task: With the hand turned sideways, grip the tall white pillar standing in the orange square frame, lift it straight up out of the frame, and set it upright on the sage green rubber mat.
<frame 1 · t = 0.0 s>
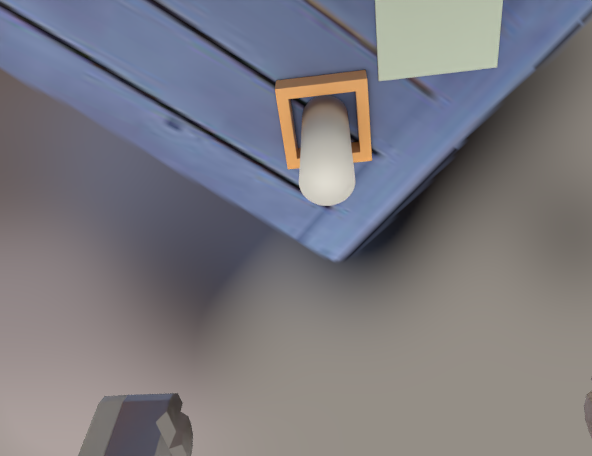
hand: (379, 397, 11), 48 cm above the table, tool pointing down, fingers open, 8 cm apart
tall white pillar: (325, 145, 53), in the orange square frame
orange square frame: (325, 116, 58), on the table
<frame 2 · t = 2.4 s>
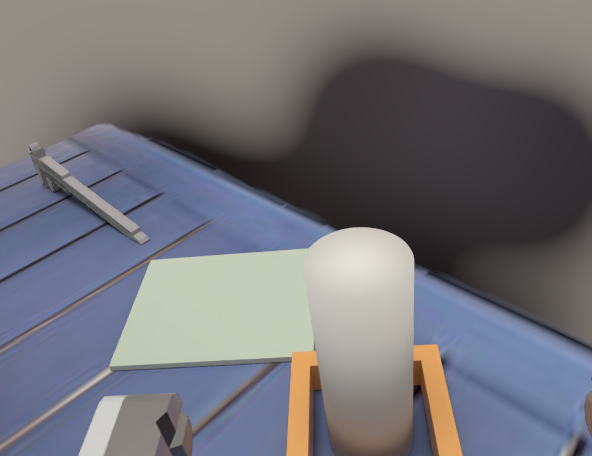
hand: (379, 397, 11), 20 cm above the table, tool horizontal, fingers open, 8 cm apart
tall white pillar: (365, 361, 28), in the orange square frame
caliper: (93, 214, 58), on the table
orange square frame: (370, 435, 32), on the table
mat: (222, 306, 43), on the table
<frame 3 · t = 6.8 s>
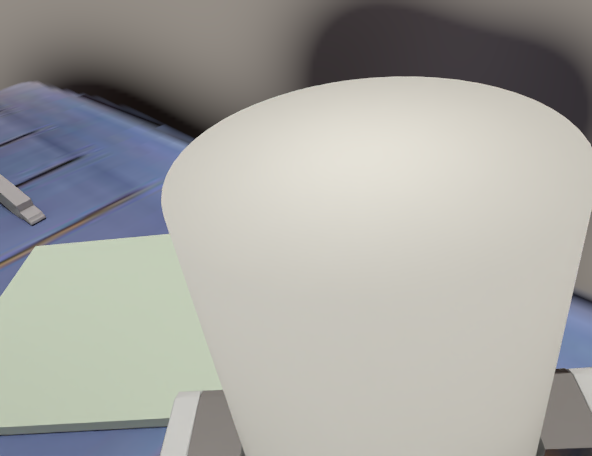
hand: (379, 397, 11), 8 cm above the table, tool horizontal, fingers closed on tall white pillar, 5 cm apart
mat: (133, 318, 25), on the table
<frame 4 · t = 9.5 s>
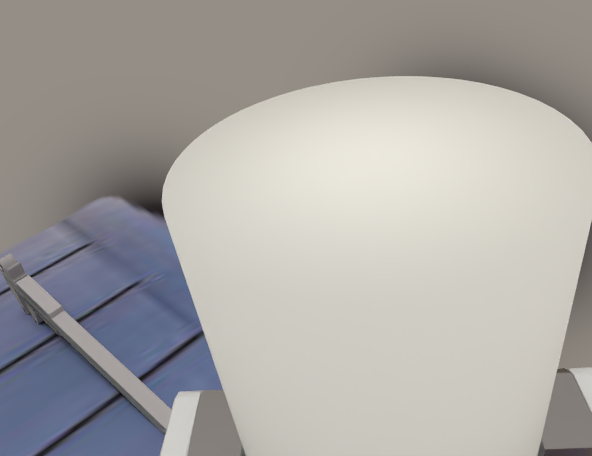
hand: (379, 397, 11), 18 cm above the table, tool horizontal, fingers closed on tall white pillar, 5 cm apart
caliper: (99, 370, 37), on the table
when the fingers open (10 cm above the table, at t = 12.2 s): tall white pillar drops 1 cm, resting on mat.
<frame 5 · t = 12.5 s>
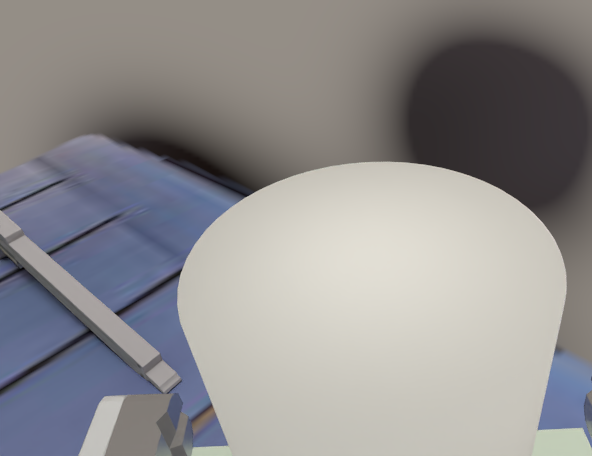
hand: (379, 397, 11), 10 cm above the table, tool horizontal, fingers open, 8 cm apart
caliper: (67, 307, 31), on the table
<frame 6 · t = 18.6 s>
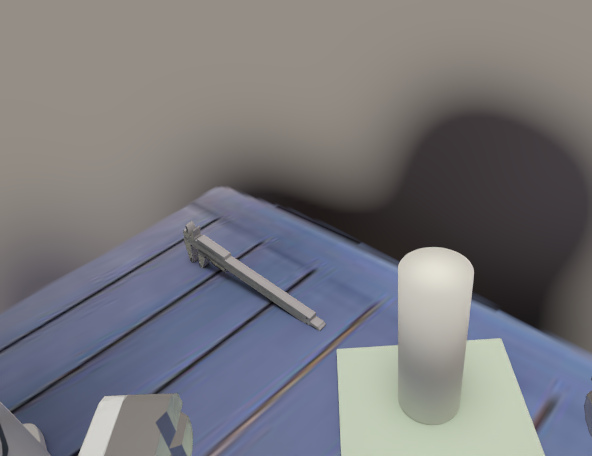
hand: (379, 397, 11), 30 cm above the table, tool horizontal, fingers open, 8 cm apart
tall white pillar: (431, 340, 40), on the mat
caliper: (252, 293, 59), on the table
mat: (428, 402, 45), on the table
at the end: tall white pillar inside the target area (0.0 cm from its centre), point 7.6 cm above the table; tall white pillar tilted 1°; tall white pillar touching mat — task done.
